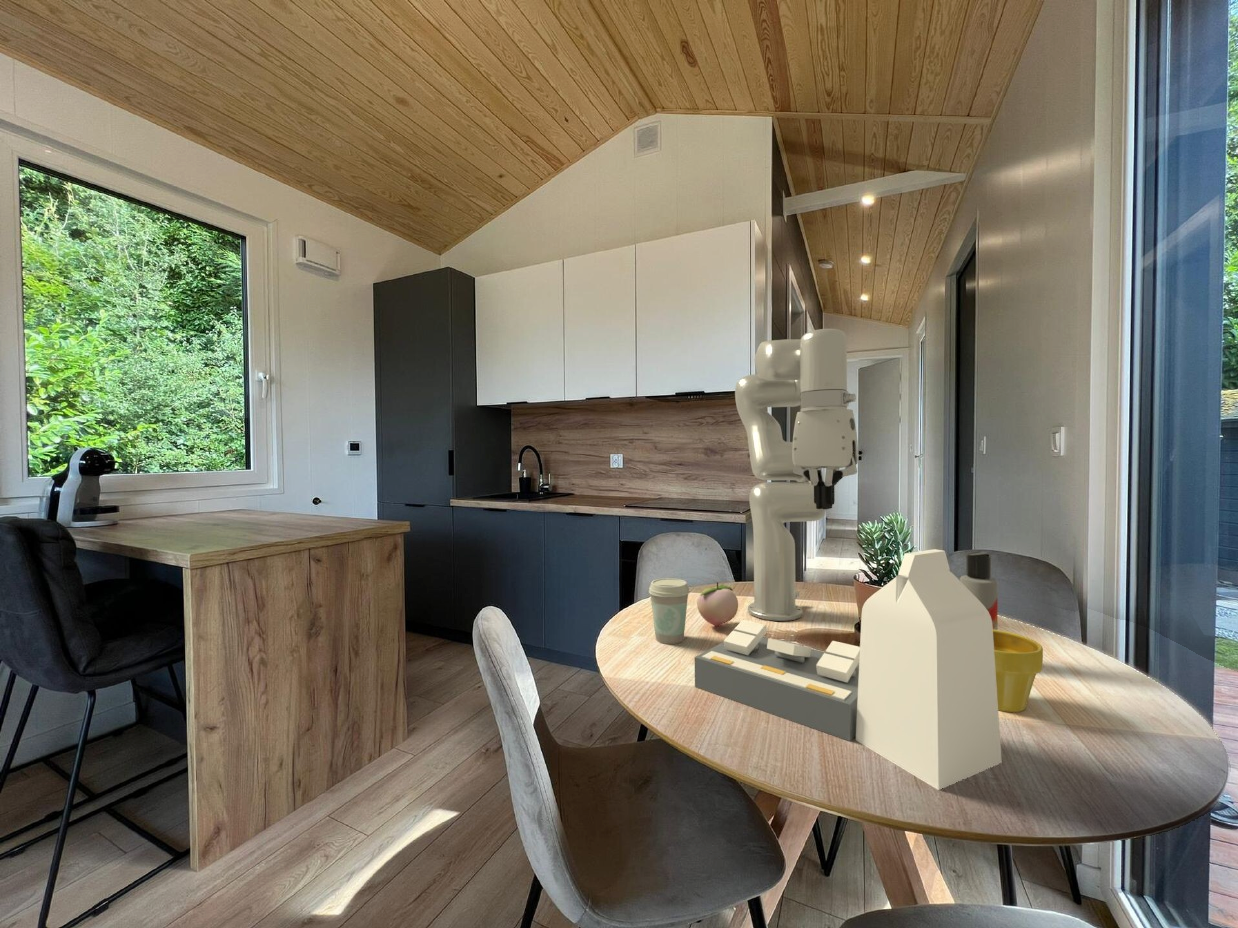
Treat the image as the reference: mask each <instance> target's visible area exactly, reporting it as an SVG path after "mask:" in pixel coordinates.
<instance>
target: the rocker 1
mask: <svg viewBox="0 0 1238 928" xmlns="http://www.w3.org/2000/svg"><path fill="white" fill-rule="evenodd" d="M766 634H767V627H766V624H764V623H760V622H756V621H755V622H754V621H751V620H747V619H742V620H741V621H740V622H739V623H738V625H737V626H735V628H733V629H732V631H731V632H730V633H729V634H728V635H727V636H726V638H725V639H723V642H724V646H725V649H727V650H730V651H734V652H738V653H741V654H745V655H749V654H750V652H751V651H752V650H753V649H754V648H755V646H756V645H757V644H758V643H759V641H760V640H761V639H762V638H763V637H765V635H766Z"/></svg>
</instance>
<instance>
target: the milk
mask: <svg viewBox="0 0 1238 928" xmlns="http://www.w3.org/2000/svg"><path fill="white" fill-rule="evenodd" d="M950 570H951V569H950V566H949V562H948V558H947V554H946V551H945V550H941V549H938V548H937V549H936V548H934V549H926V550H920V551H913V552H906V553H904V555H903V559H902V562H901V564H900V567H899V571H898V574H897V576H894V578H893V579H891V580H890V581H889V582H888V583H887V584H885V585H884V586H882V587H881V588H880V589H879V590H877V591H876V592H875V593H873V594H871V596H869V598H867V600H865V602H864V603H863V605H862V608H861V616H860V617H861V618H860V621H861V622H860V640H859V641H860V643H859V647H860V659H859V680H858V702H857V723H856V735H855V741H856V742H857V743H859V744H861V745H863V746H864V747H866V748H867V749H870V750H872V752H874V753H876V754H878V755H880V756H881V757H882V758H884V759H886V760H888V761H890V762H891V763H893V764H895V765H896V766H898V767H899V768H901V769H903V770H904V771H906V772H908V773H909V774H911V775H913V776H914V777H916V778H917V779H919V780H921V781H923V782H924V783H926V784H928V786H930V787H933V788H934V789H935V790H937V791H940V790H942V788H943V789H945V788H947V787H949V785H950V786H952V785H954V784H956V782H957V783H959V782H961V781H963V780H962V779H964V780H965V779H968V778H970V777H972V776H973V777H974V775H977V774H980V773H982V772H984V771H987V770H989V769H991V768H993V766H994V767H996V766H998V765H1000V764H999V763H1001V764H1002V763H1003V762H1002V761H1003V760H1002V746H1001V745H1002V744H1001V732H1000V731H1001V730H1000V718H999V710H998V700H997V685H996V670H995V656H994V641H993V626H992V619H991V616H990V614H989V612H988V611H987V609H986V608H985V606H984V605H983V604H982V603H981V602H980V601H979V600H978V599H977V598H976V597H975V596H974V595H973V594H972V593H971V592H970V591H969V590H968V589H967V588H966V587H965V586H964V584H963V583H962V582H961V581H960V578H958V577H957V576H956V575H955V574H954V573H953V572H952V571H950ZM995 765H996V766H995ZM990 767H991V768H990ZM988 768H989V769H988ZM986 769H987V770H986ZM979 772H980V773H979ZM967 777H968V778H967ZM958 781H959V782H958Z"/></svg>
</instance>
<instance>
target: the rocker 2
mask: <svg viewBox="0 0 1238 928" xmlns="http://www.w3.org/2000/svg"><path fill="white" fill-rule="evenodd" d="M767 638H768V644H767V649H771V650H774V651H778V652H782V653H786V654H790V655H794V656H803V657H810V656H811V649H813V648H812V647H811V646H807V645H803V644H800V643H797V642H792V641H788V640H784V639H779V638H776V639H775V638H770V639H769V637H767Z"/></svg>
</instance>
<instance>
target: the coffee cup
mask: <svg viewBox="0 0 1238 928" xmlns="http://www.w3.org/2000/svg"><path fill="white" fill-rule="evenodd" d="M648 589H649V590H648V593H649V595H650V596H649V597H650V601H651V603H650V604H651V610H652V619H653V620H652V621H653V625H654V634H655V640H656V641H657V642H658V643H660V644H664V645H676V644H680V643H683V641H684V640H685V639H684V638H685V629H686V621H687V620H686V619H687V607H688V598H689V594H690V592H691V591H690V588H689V585H688V582H687V581H686V580H684V579H680V578H669V577H668V578H666V577H665V578H664V577H663V578H657V579H653V580H652V581H651V583H650V586H649V587H648Z"/></svg>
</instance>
